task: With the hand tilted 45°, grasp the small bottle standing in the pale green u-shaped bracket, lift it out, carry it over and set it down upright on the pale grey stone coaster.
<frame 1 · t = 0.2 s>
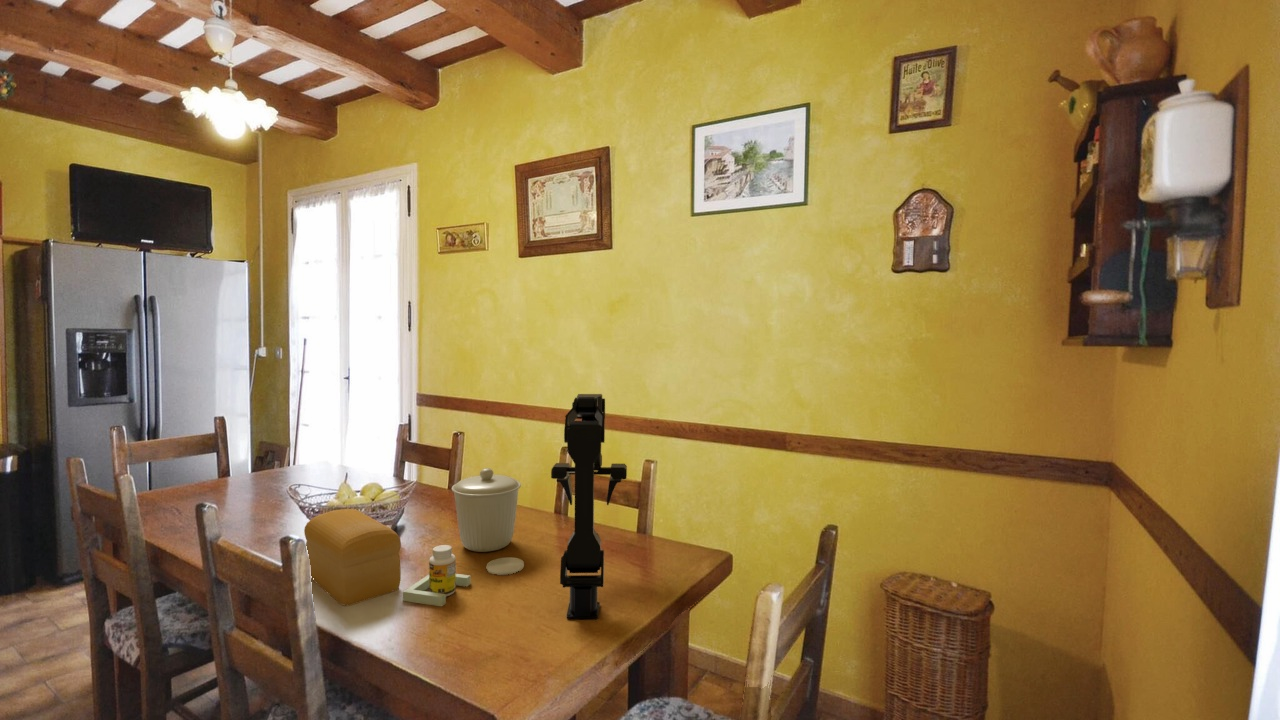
hand: (589, 504, 152), 14 cm above the table, tool pointing down, fingers open, 9 cm apart
supplement bottle: (442, 593, 134), on the table
canister: (487, 546, 163), on the table
pale green u-shaped bracket: (442, 592, 134), on the table
coaster: (505, 567, 148), on the table
bread: (352, 582, 140), on the table
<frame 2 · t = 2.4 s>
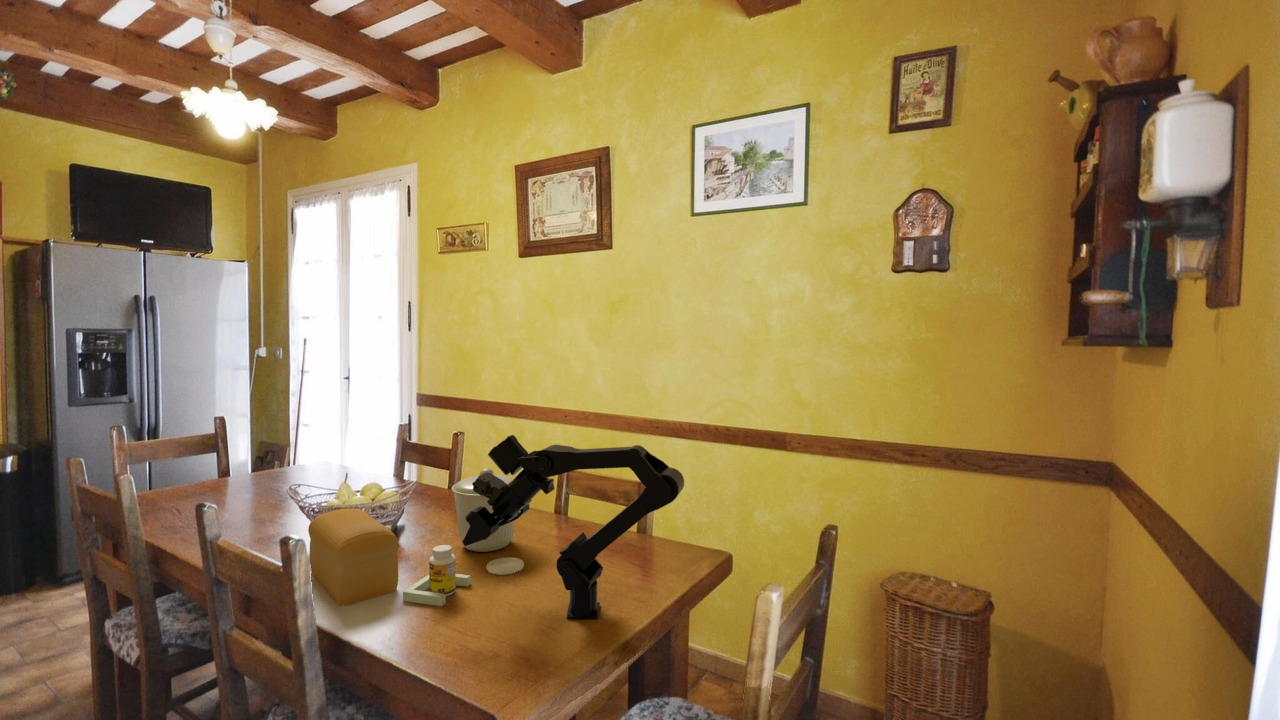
hand: (475, 536, 131), 13 cm above the table, tool tilted 45°, fingers open, 9 cm apart
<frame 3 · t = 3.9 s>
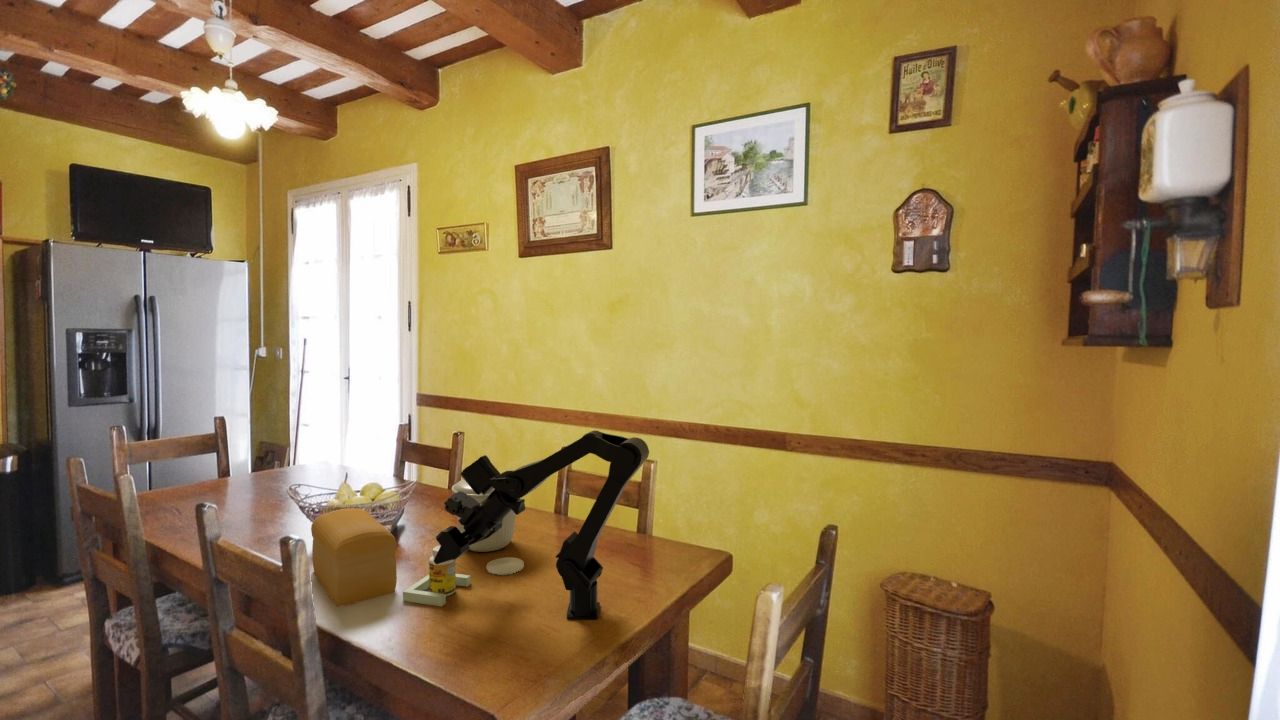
hand: (447, 554, 133), 9 cm above the table, tool tilted 45°, fingers open, 9 cm apart
nothing on the table moved.
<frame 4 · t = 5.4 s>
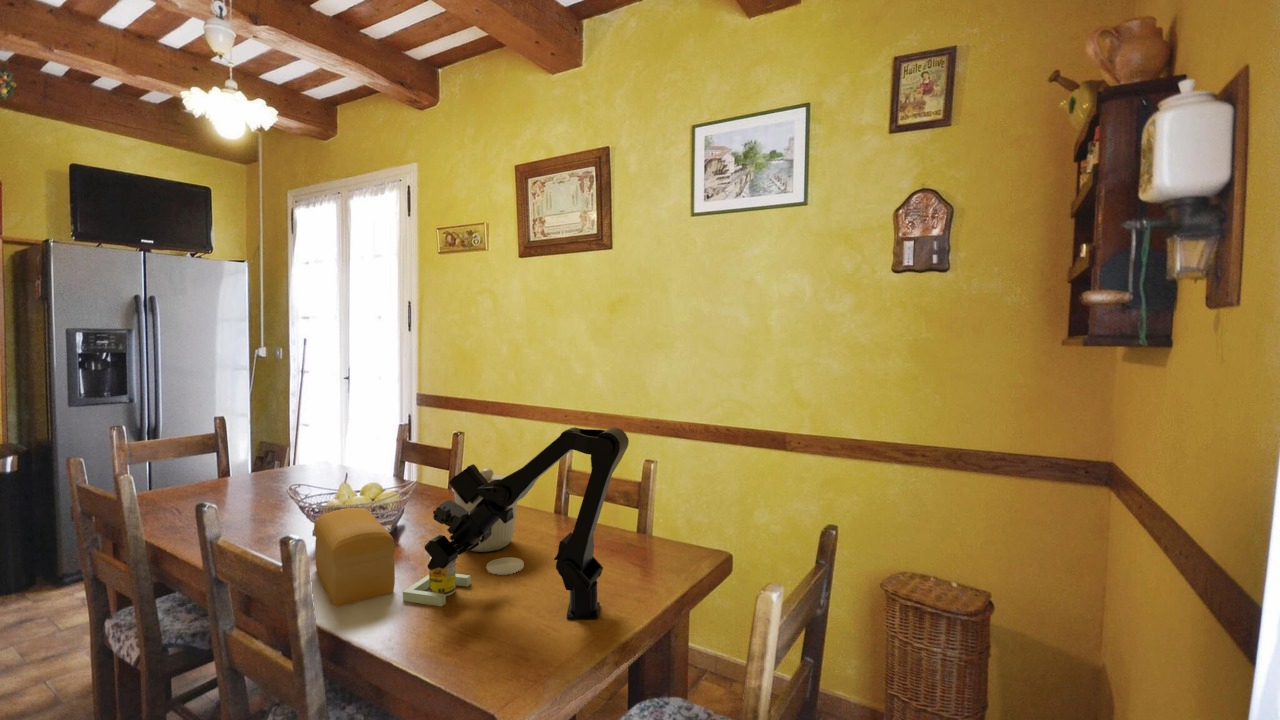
hand: (436, 563, 134), 7 cm above the table, tool tilted 45°, fingers closed on supplement bottle, 5 cm apart
supplement bottle: (442, 593, 134), on the table, touching gripper
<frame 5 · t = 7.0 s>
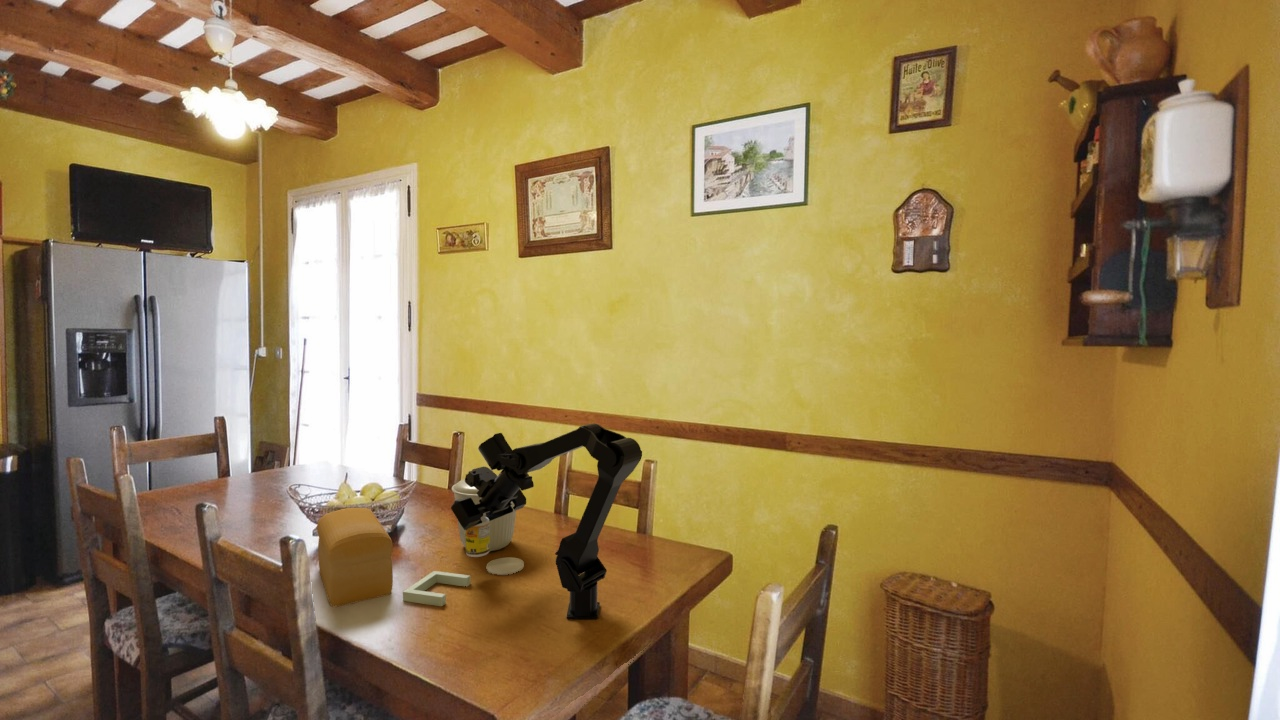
hand: (473, 524, 143), 12 cm above the table, tool tilted 45°, fingers closed on supplement bottle, 6 cm apart
supplement bottle: (477, 554, 142), point 5 cm above the table, touching gripper
when the fingers open (9 cm above the table, at t = 8.6 s): supplement bottle stays where it is, resting on coaster.
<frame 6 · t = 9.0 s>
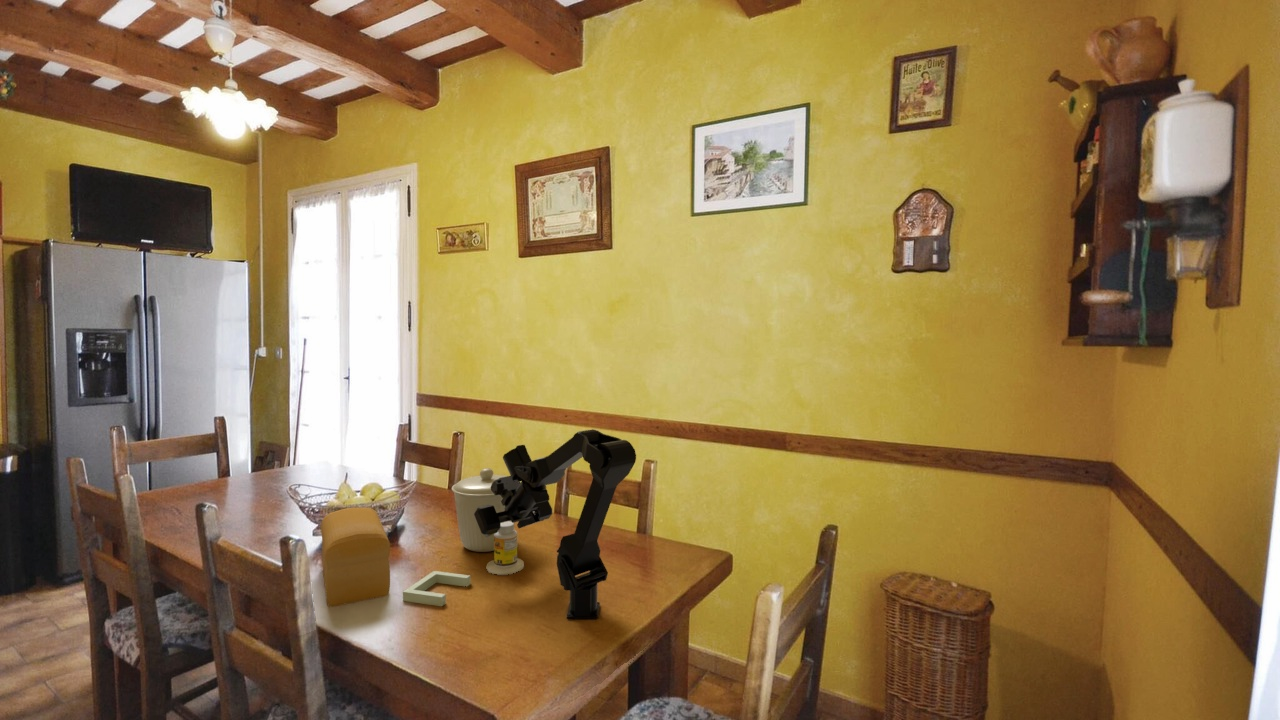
hand: (502, 530, 148), 9 cm above the table, tool tilted 45°, fingers open, 9 cm apart
supplement bottle: (505, 565, 148), point 1 cm above the table, touching coaster
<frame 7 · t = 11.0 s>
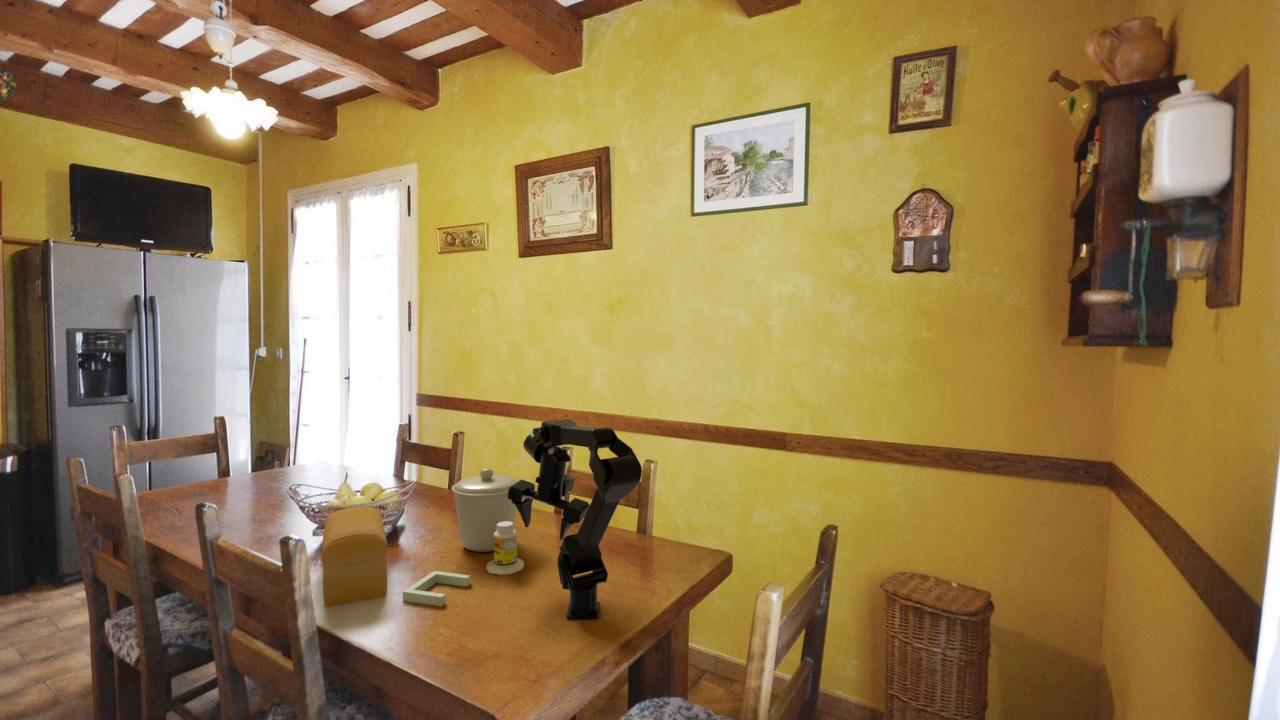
hand: (544, 532, 140), 11 cm above the table, tool pointing down, fingers open, 9 cm apart
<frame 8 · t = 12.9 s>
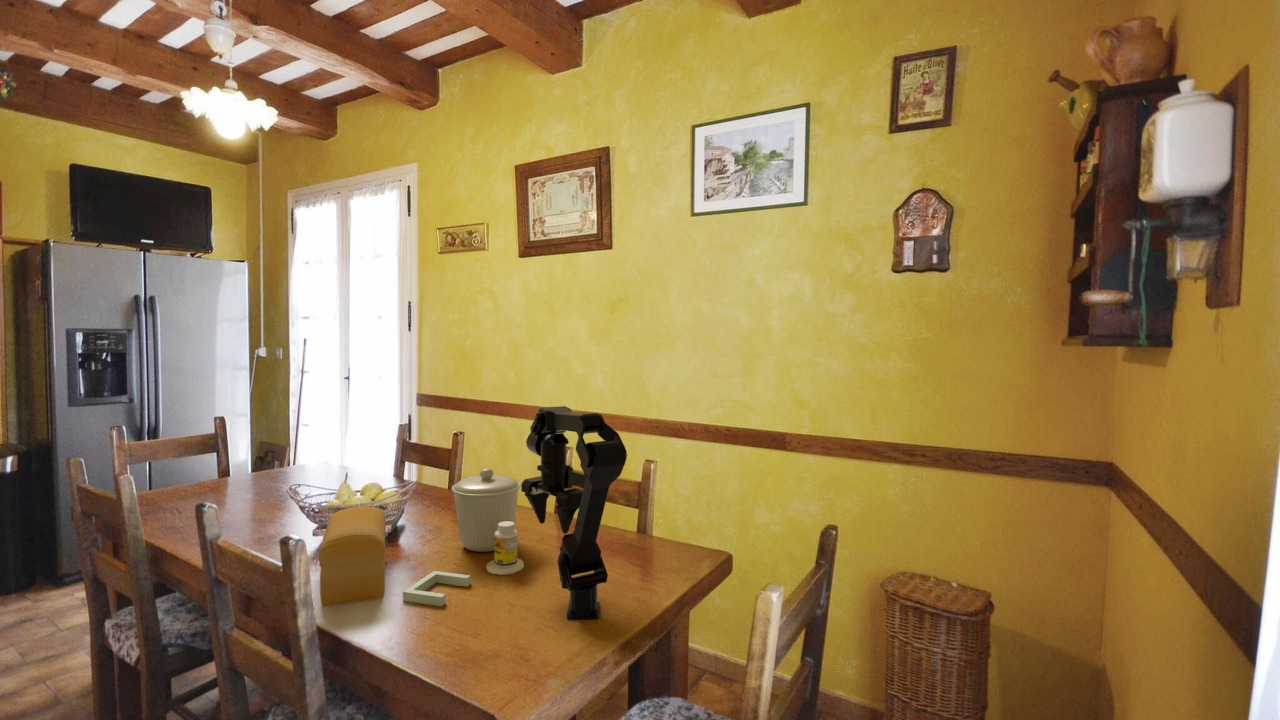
hand: (553, 528, 138), 13 cm above the table, tool pointing down, fingers open, 9 cm apart
at the end: supplement bottle inside the target area on the coaster (0.1 cm from its centre), point 0.6 cm above the coaster's base; supplement bottle tilted 1°; the gripper is holding nothing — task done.
